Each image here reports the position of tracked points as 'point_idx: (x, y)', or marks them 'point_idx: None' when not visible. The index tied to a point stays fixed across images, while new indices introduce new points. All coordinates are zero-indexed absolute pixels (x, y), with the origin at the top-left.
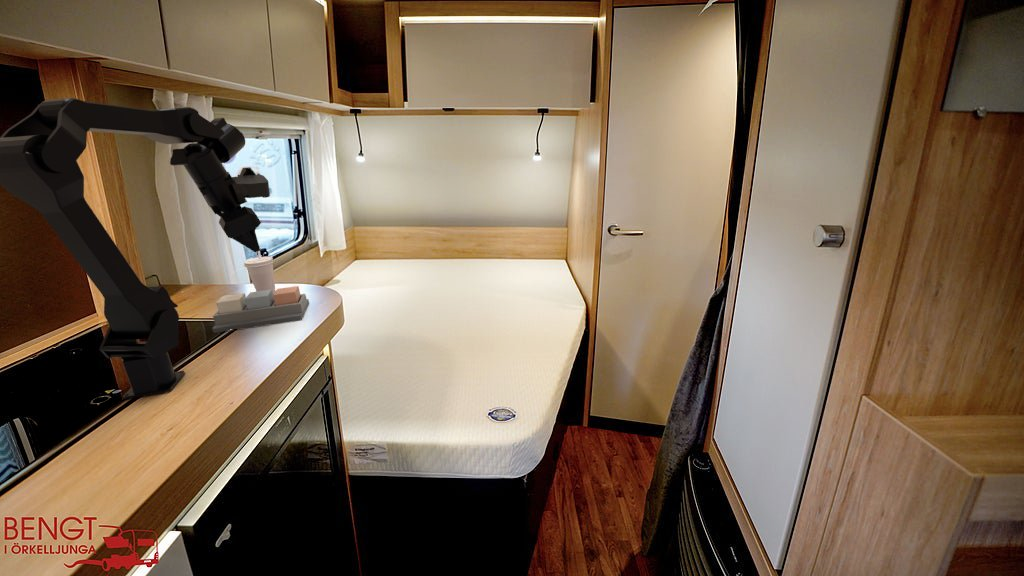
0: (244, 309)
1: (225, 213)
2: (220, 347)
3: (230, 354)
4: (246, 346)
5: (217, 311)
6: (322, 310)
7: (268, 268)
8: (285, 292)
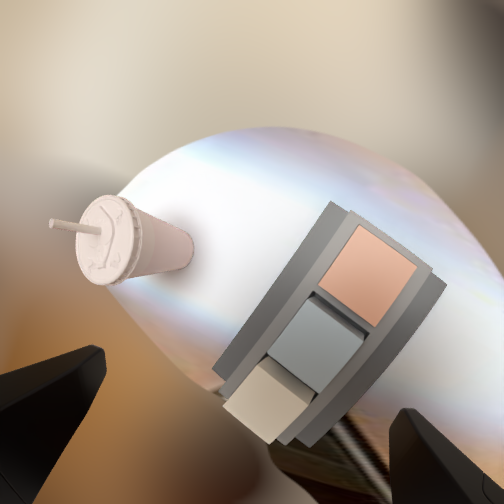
0: None
1: (5, 500)
2: None
3: None
4: (461, 431)
5: None
6: (425, 212)
7: (147, 229)
8: (391, 289)
